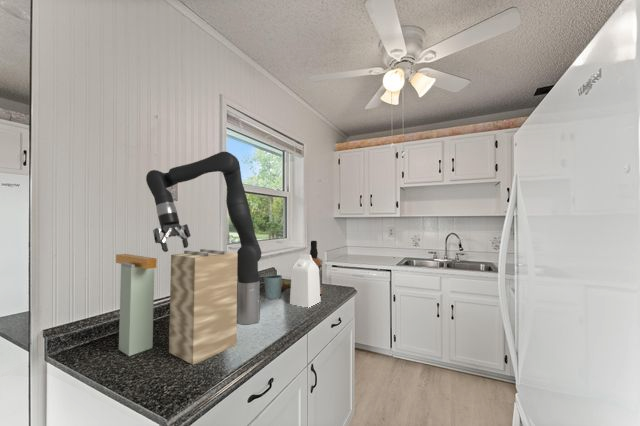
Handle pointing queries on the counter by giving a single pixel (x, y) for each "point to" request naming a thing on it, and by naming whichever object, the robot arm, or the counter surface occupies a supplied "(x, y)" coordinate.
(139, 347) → the grooved green pillar
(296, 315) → the counter surface
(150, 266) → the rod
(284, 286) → the gavel
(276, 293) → the teal cup
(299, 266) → the milk
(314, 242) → the whiskey bottle
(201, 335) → the stand
